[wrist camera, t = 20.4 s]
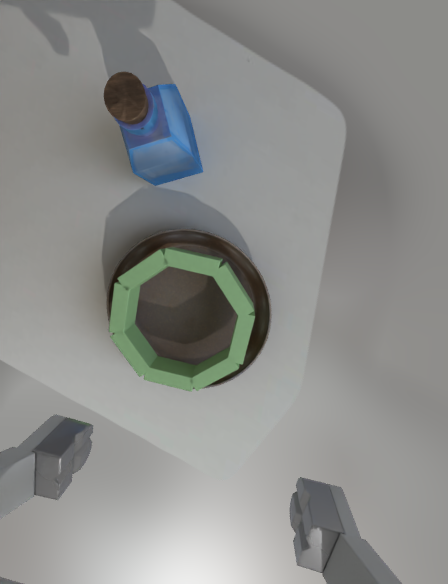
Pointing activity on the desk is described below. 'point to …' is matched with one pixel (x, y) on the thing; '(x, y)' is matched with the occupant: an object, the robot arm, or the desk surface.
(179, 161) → the perfume bottle
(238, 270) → the plant saucer
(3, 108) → the desk surface
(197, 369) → the ring
